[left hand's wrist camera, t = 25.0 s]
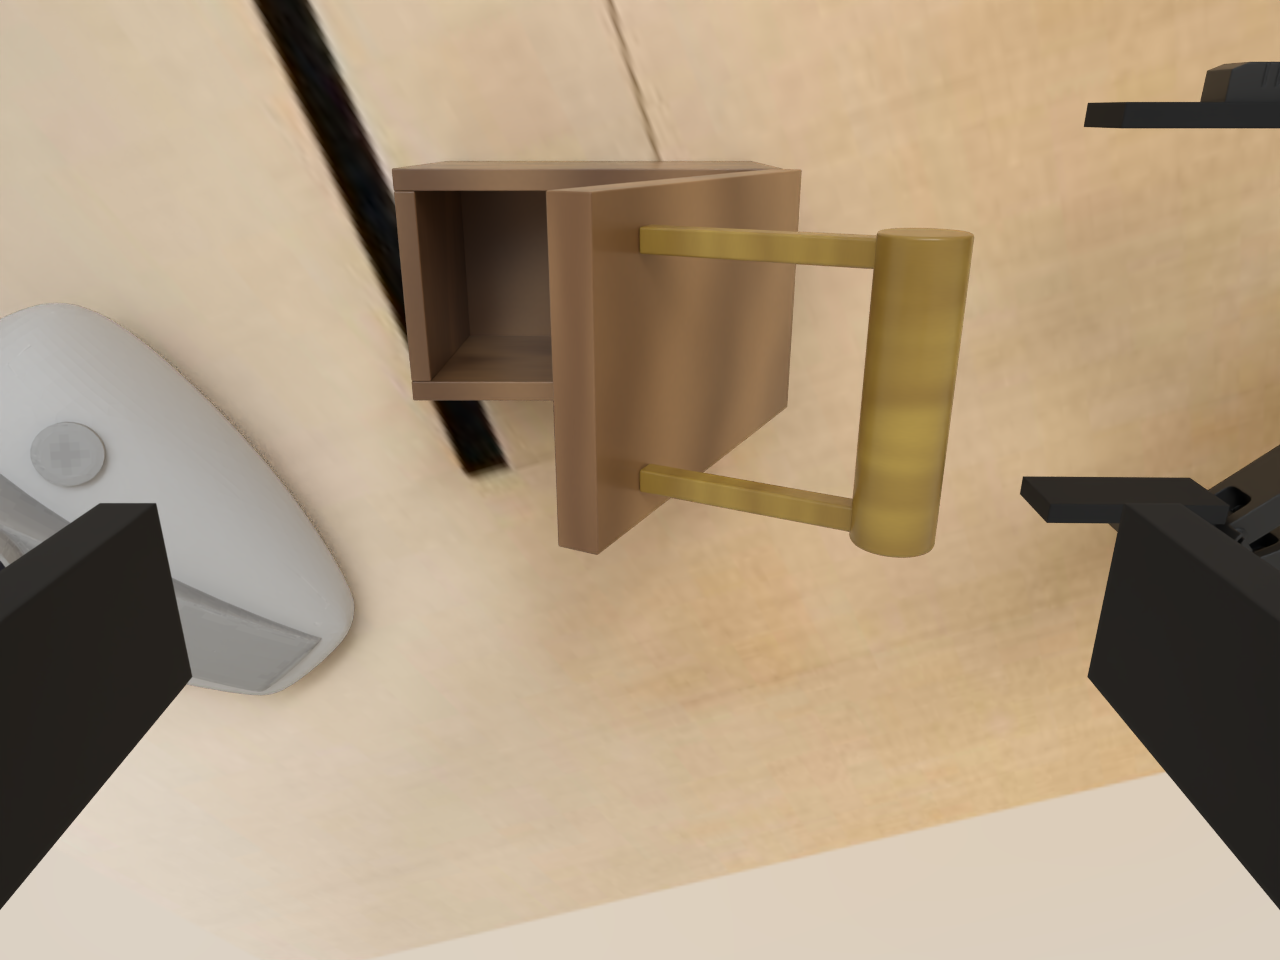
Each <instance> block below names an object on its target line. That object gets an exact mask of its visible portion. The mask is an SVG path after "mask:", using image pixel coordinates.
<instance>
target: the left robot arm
mask: <svg viewBox="0 0 1280 960" xmlns="http://www.w3.org/2000/svg"><path fill="white" fill-rule="evenodd" d="M191 678H192V672H191V668H190V663H189V658H188V653H187V648H186V644H185V639H184V634H183V629H182V624H181V620H180V615H179V610H178V605H177V600H176V596H175V591H174V586H173V581H172V576H171V572H170V567H169V562H168V557H167V552H166V548H165V543H164V538H163V533H162V528H161V524H160V519H159V514H158V509H157V504H156V503H99V504H98V505H96V506H95V507H93V508H92V509H90V510H89V511H87V512H86V513H84V514H83V515H82V516H80V517H79V518H77V519H76V520H74V521H73V522H71V523H70V524H68V525H67V526H65V527H64V528H62V529H61V530H60V531H58V532H57V533H55V534H54V535H52V536H51V537H49V538H48V539H46V540H45V541H43V542H42V543H40V544H39V545H38V546H36V547H35V548H33V549H32V550H30V551H29V552H27V553H26V554H24V555H23V556H21V557H20V558H18V559H17V560H16V561H14V562H13V563H11V564H10V565H8V566H7V567H5V568H4V569H2V570H1V571H0V909H1V908H2V907H3V906H4V905H5V903H6V902H7V901H8V900H9V898H10V897H11V896H12V895H13V894H14V892H15V891H16V890H17V889H18V888H19V886H20V885H21V884H22V883H23V882H24V880H25V879H26V878H27V877H28V875H29V874H30V873H31V872H32V871H33V869H34V868H35V867H36V866H37V865H38V863H39V862H40V861H41V860H42V859H43V857H44V856H45V855H46V854H47V852H48V851H49V850H50V849H51V848H52V846H53V845H54V844H55V843H56V842H57V840H58V839H59V838H60V837H61V836H62V834H63V833H64V832H65V831H66V829H67V828H68V827H69V826H70V825H71V823H72V822H73V821H74V820H75V819H76V817H77V816H78V815H79V814H80V813H81V811H82V810H83V809H84V808H85V806H86V805H87V804H88V803H89V802H90V800H91V799H92V798H93V797H94V796H95V794H96V793H97V792H98V791H99V789H100V788H101V787H102V786H103V785H104V783H105V782H106V781H107V780H108V779H109V777H110V776H111V775H112V774H113V773H114V771H115V770H116V769H117V768H118V766H119V765H120V764H121V763H122V762H123V760H124V759H125V758H126V757H127V756H128V754H129V753H130V752H131V751H132V750H133V748H134V747H135V746H136V745H137V743H138V742H139V741H140V740H141V739H142V737H143V736H144V735H145V734H146V733H147V731H148V730H149V729H150V728H151V726H152V725H153V724H154V723H155V722H156V720H157V719H158V718H159V717H160V716H161V714H162V713H163V712H164V711H165V710H166V708H167V707H168V706H169V705H170V703H171V702H172V701H173V700H174V699H175V697H176V696H177V695H178V694H179V693H180V691H181V690H182V689H183V688H184V686H185V685H186V684H187V683H188V682H189V680H190V679H191ZM1088 678H1089V679H1090V680H1091V682H1092V683H1093V684H1094V685H1095V686H1096V688H1097V689H1098V690H1099V691H1100V693H1101V694H1102V695H1103V696H1104V697H1105V699H1106V700H1107V701H1108V702H1109V703H1110V705H1111V706H1112V707H1113V708H1114V710H1115V711H1116V712H1117V713H1118V714H1119V716H1120V717H1121V718H1122V719H1123V720H1124V722H1125V723H1126V724H1127V725H1128V726H1129V728H1130V729H1131V730H1132V731H1133V733H1134V734H1135V735H1136V736H1137V737H1138V739H1139V740H1140V741H1141V742H1142V743H1143V745H1144V746H1145V747H1146V748H1147V750H1148V751H1149V752H1150V753H1151V754H1152V756H1153V757H1154V758H1155V759H1156V760H1157V762H1158V763H1159V764H1160V765H1161V766H1162V768H1163V769H1164V770H1165V771H1166V773H1167V774H1168V775H1169V776H1170V777H1171V779H1172V780H1173V781H1174V782H1175V783H1176V785H1177V786H1178V787H1179V788H1180V789H1181V791H1182V792H1183V793H1184V794H1185V796H1186V797H1187V798H1188V799H1189V800H1190V802H1191V803H1192V804H1193V805H1194V806H1195V808H1196V809H1197V810H1198V811H1199V813H1200V814H1201V815H1202V816H1203V817H1204V819H1205V820H1206V821H1207V822H1208V823H1209V825H1210V826H1211V827H1212V828H1213V829H1214V831H1215V832H1216V833H1217V834H1218V836H1219V837H1220V838H1221V839H1222V840H1223V842H1224V843H1225V844H1226V845H1227V846H1228V848H1229V849H1230V850H1231V851H1232V852H1233V854H1234V855H1235V856H1236V857H1237V859H1238V860H1239V861H1240V862H1241V863H1242V865H1243V866H1244V867H1245V868H1246V869H1247V871H1248V872H1249V873H1250V874H1251V876H1252V877H1253V878H1254V879H1255V880H1256V882H1257V883H1258V884H1259V885H1260V886H1261V888H1262V889H1263V890H1264V891H1265V892H1266V894H1267V895H1268V896H1269V897H1270V899H1271V900H1272V901H1273V902H1274V903H1275V905H1276V906H1277V907H1278V908H1279V909H1280V571H1279V570H1278V569H1276V568H1275V567H1273V566H1272V565H1270V564H1269V563H1267V562H1266V561H1264V560H1263V559H1262V558H1260V557H1259V556H1257V555H1256V554H1254V553H1253V552H1251V551H1250V550H1248V549H1247V548H1245V547H1244V546H1242V545H1241V544H1240V543H1238V542H1237V541H1235V540H1234V539H1232V538H1231V537H1229V536H1228V535H1226V534H1225V533H1223V532H1222V531H1220V530H1219V529H1218V528H1216V527H1215V526H1213V525H1212V524H1210V523H1209V522H1207V521H1206V520H1204V519H1203V518H1201V517H1200V516H1198V515H1197V514H1196V513H1194V512H1193V511H1191V510H1190V509H1188V508H1187V507H1185V506H1184V505H1182V504H1181V503H1124V504H1123V509H1122V514H1121V519H1120V523H1119V528H1118V533H1117V538H1116V543H1115V548H1114V552H1113V557H1112V562H1111V567H1110V572H1109V576H1108V581H1107V586H1106V591H1105V596H1104V600H1103V605H1102V610H1101V615H1100V620H1099V624H1098V629H1097V634H1096V639H1095V644H1094V648H1093V653H1092V658H1091V663H1090V668H1089V672H1088Z"/></svg>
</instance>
